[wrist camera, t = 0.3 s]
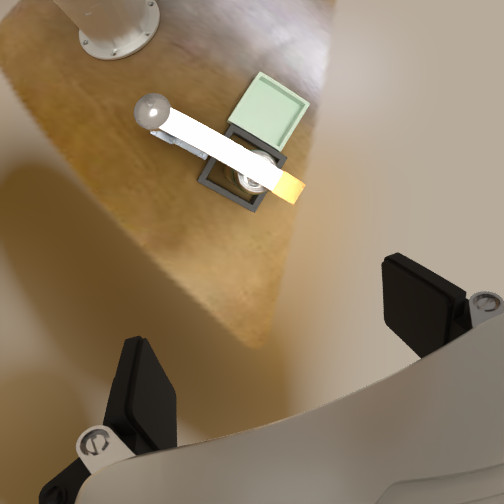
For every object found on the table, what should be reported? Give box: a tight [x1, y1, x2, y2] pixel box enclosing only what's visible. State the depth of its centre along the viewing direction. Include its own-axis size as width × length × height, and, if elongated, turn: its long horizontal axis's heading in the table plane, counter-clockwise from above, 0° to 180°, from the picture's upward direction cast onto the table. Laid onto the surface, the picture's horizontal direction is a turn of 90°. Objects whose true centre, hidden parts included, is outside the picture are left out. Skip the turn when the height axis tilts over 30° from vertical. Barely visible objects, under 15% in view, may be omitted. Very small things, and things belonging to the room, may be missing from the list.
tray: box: [226, 72, 310, 152], centre depth 40 cm, size 8×8×2 cm
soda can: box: [223, 150, 277, 195], centre depth 38 cm, size 5×5×12 cm
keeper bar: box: [134, 93, 305, 204], centre depth 27 cm, size 17×3×3 cm, turn 59°
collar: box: [197, 124, 287, 213], centre depth 42 cm, size 9×9×2 cm
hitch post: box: [150, 130, 208, 160], centre depth 34 cm, size 9×4×14 cm, turn 59°
